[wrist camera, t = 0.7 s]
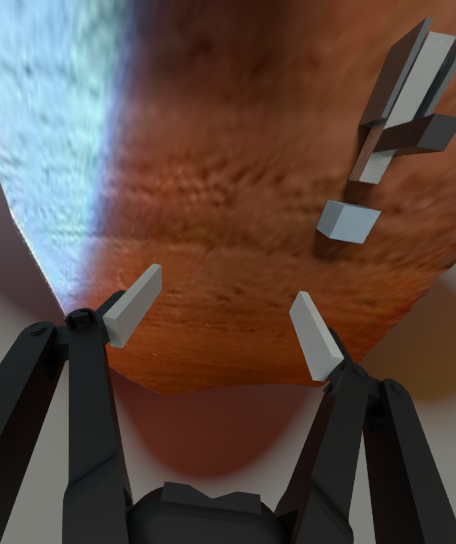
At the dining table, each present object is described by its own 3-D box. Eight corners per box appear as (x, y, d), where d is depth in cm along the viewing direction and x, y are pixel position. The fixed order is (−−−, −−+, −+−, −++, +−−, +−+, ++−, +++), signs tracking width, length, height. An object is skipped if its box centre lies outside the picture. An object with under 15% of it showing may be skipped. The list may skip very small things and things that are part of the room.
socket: (327, 200, 35) (344, 205, 30) (358, 205, 36) (381, 211, 30) (316, 228, 38) (329, 238, 33) (344, 233, 39) (362, 243, 33)
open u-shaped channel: (391, 46, 25) (426, 17, 20) (435, 54, 25) (480, 27, 20) (358, 126, 29) (380, 117, 25) (395, 132, 29) (424, 125, 25)
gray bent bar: (406, 48, 24) (521, -37, 14) (430, 53, 24) (560, -29, 14) (348, 180, 32) (394, 183, 23) (365, 183, 32) (419, 187, 23)
